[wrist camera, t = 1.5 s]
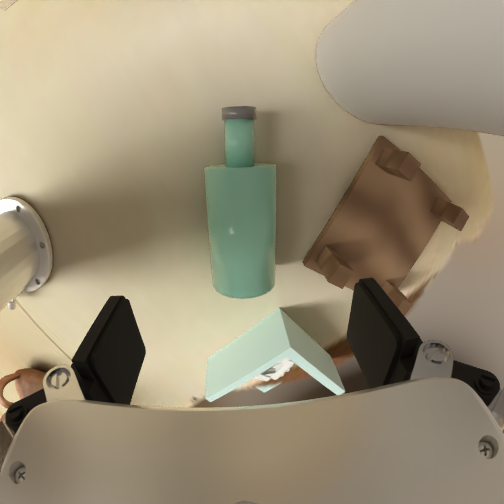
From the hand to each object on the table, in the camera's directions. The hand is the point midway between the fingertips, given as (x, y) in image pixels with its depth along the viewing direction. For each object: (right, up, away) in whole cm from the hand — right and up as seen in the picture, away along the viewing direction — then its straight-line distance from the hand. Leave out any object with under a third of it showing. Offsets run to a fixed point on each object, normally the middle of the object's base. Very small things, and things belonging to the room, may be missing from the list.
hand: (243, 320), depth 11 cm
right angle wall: (+3, -11, +26) cm, 28 cm away
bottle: (-1, +8, +16) cm, 18 cm away
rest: (+15, +6, +18) cm, 25 cm away
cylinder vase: (+12, +22, +11) cm, 27 cm away
